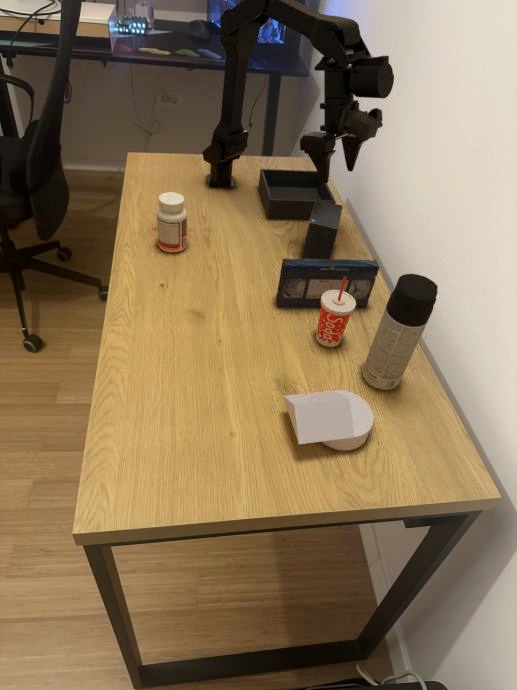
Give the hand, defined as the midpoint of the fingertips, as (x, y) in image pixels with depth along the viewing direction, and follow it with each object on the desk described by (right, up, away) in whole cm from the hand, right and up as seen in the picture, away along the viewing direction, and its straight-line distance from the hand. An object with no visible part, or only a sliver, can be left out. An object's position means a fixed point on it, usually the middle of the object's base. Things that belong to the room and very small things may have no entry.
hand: (338, 176), depth 107 cm
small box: (-4, -16, +6) cm, 17 cm away
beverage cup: (-4, -35, -14) cm, 38 cm away
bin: (-8, 0, +22) cm, 23 cm away
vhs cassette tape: (-4, -28, -7) cm, 29 cm away
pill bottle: (-36, -14, +2) cm, 39 cm away
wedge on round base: (-6, -49, -29) cm, 57 cm away
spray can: (+4, -42, -20) cm, 46 cm away
